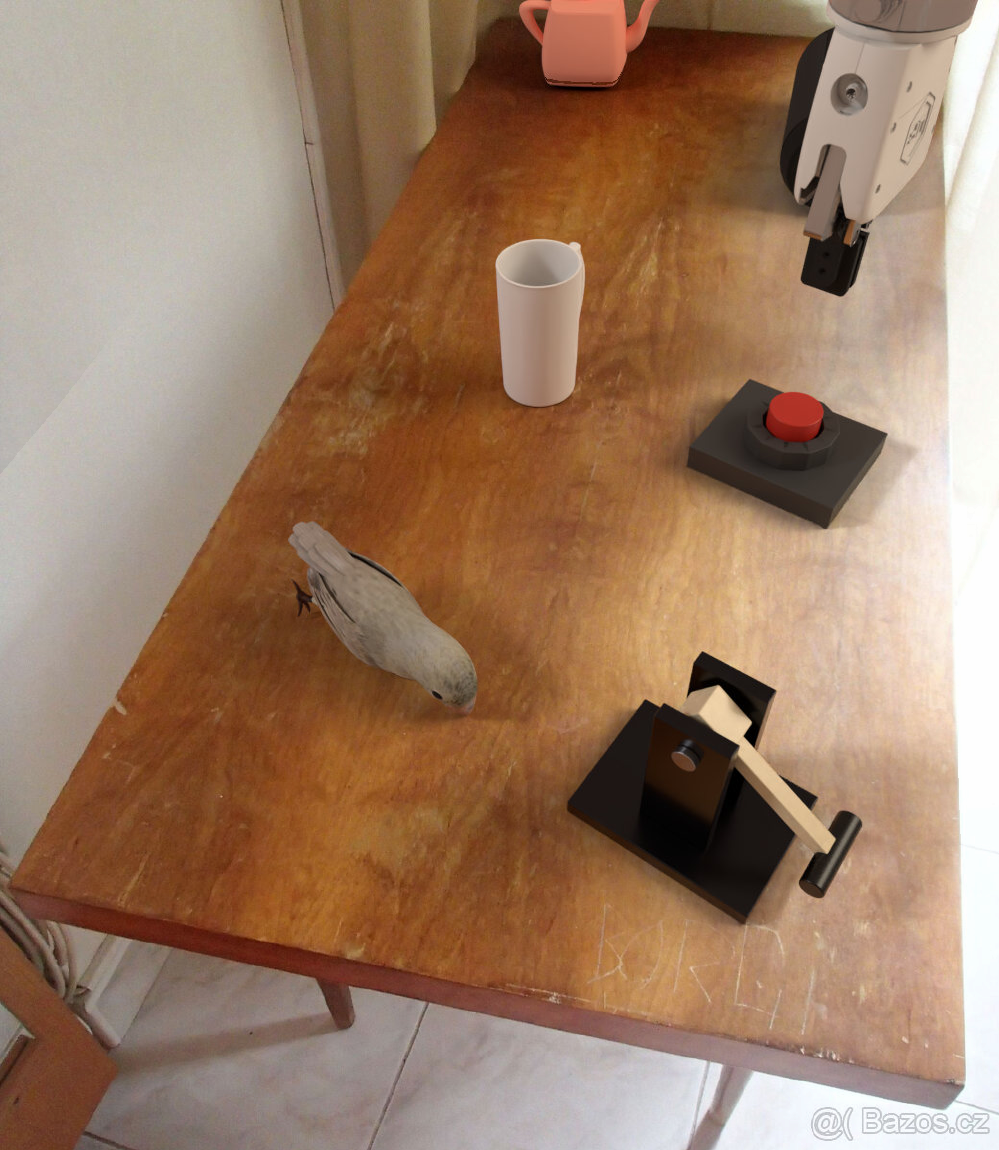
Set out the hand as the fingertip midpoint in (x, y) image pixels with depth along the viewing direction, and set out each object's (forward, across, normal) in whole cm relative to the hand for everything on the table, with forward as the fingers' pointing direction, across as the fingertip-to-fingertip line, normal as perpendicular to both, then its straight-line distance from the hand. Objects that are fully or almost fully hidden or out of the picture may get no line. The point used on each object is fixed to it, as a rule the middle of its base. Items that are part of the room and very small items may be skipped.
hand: (826, 284), depth 66 cm
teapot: (+18, +51, +51) cm, 74 cm away
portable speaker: (+17, +47, +17) cm, 53 cm away
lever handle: (+10, -31, -12) cm, 34 cm away
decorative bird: (+16, -32, +13) cm, 39 cm away
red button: (+13, 0, 0) cm, 13 cm away
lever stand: (+16, -31, -9) cm, 36 cm away
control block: (+16, 0, 0) cm, 16 cm away
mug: (+17, -1, +21) cm, 27 cm away
